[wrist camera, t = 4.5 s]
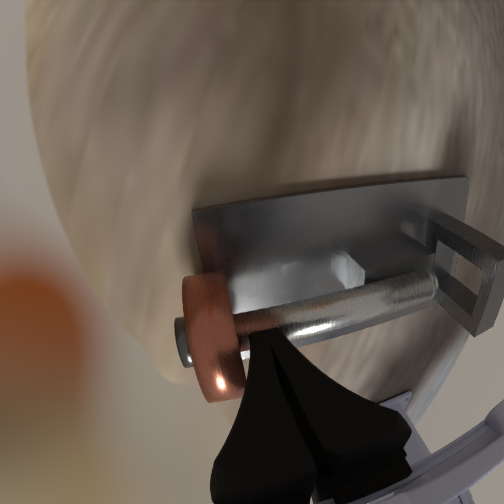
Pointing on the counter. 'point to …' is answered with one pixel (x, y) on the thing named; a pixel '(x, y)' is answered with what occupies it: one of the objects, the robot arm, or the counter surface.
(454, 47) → the counter surface
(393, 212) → the eye bracket
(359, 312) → the hammer
